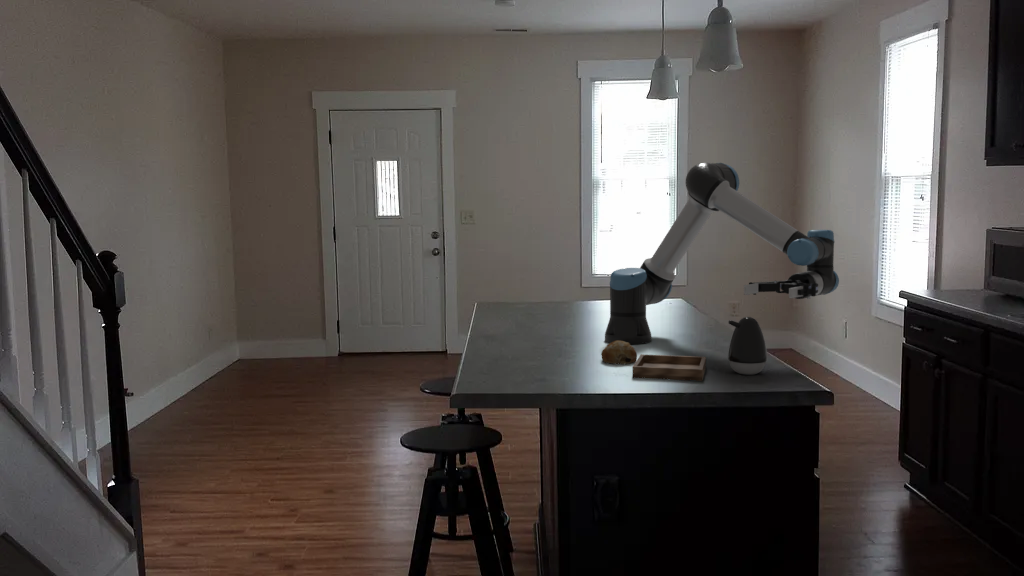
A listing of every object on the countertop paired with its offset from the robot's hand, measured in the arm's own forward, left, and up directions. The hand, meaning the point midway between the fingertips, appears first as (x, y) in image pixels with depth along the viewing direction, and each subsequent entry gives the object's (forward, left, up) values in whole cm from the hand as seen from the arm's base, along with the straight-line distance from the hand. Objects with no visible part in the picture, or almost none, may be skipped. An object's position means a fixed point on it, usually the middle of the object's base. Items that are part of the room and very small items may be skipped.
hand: (767, 291), depth 242 cm
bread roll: (-41, +1, -21) cm, 46 cm away
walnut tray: (-25, -12, -21) cm, 35 cm away
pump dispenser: (-5, -8, -21) cm, 23 cm away
